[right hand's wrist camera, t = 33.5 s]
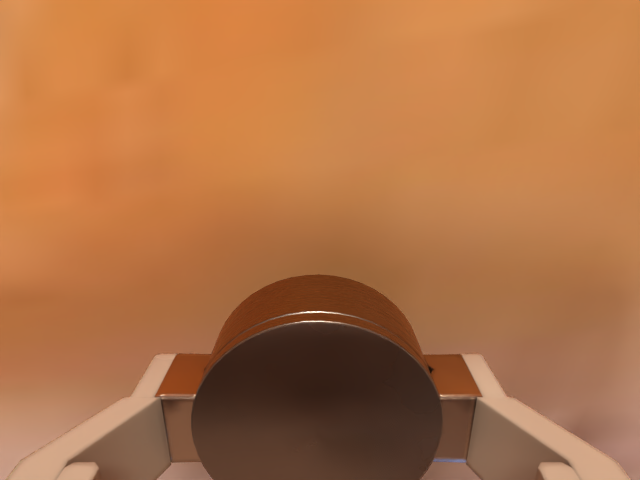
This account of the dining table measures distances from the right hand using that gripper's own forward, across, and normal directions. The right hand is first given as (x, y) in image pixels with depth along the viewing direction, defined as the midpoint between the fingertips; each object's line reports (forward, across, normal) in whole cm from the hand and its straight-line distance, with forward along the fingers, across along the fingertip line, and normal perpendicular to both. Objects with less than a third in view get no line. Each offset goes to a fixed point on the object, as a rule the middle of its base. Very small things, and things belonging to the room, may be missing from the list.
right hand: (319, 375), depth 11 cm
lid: (-2, 0, 0) cm, 2 cm away
